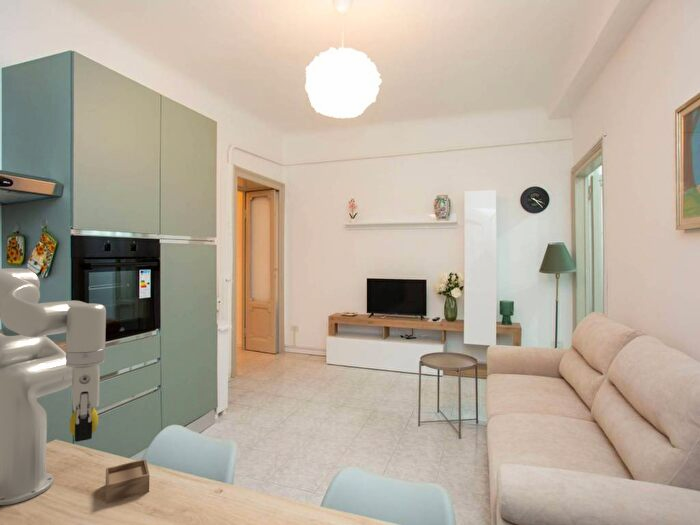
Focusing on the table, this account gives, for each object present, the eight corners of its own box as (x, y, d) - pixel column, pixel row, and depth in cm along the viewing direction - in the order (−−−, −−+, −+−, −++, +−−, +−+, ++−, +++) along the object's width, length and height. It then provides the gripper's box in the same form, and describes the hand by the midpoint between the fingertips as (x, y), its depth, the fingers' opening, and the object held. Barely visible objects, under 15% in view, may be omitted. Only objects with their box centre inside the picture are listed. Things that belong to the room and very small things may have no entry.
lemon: (83, 446, 87) (84, 410, 87) (62, 443, 88) (63, 408, 88) (103, 435, 92) (104, 402, 92) (84, 433, 93) (85, 399, 93)
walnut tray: (106, 503, 91) (106, 485, 91) (105, 484, 99) (105, 468, 99) (149, 491, 96) (149, 474, 96) (145, 474, 104) (145, 458, 104)
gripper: (105, 363, 85) (103, 446, 85) (104, 348, 99) (102, 418, 99) (63, 368, 81) (60, 454, 81) (68, 351, 95) (66, 424, 95)
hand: (83, 433), depth 90 cm, fingers closed on lemon, 5 cm apart
